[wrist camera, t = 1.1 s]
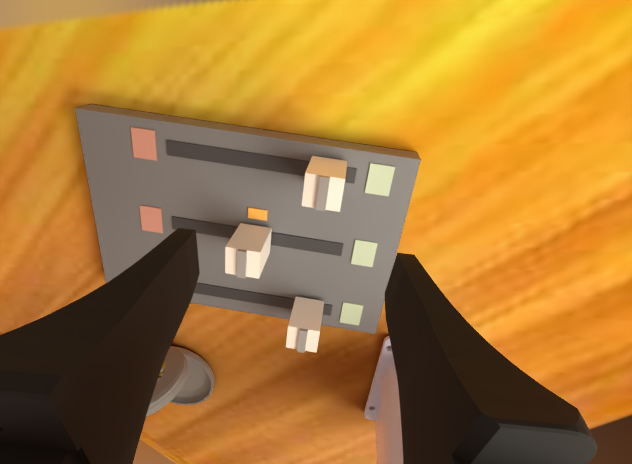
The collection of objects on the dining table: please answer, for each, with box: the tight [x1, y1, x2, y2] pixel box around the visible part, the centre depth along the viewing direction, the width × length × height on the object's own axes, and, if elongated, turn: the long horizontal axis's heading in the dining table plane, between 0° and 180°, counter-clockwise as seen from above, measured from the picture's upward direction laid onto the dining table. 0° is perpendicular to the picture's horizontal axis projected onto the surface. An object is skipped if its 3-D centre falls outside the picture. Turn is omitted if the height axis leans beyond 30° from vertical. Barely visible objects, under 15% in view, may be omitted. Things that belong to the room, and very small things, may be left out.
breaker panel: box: [75, 104, 421, 334], centre depth 25 cm, size 13×20×2 cm, turn 83°
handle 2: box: [302, 156, 347, 212], centre depth 20 cm, size 2×2×3 cm
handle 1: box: [286, 297, 324, 353], centre depth 25 cm, size 2×2×3 cm
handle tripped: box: [225, 223, 272, 279], centre depth 23 cm, size 2×2×3 cm
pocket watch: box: [146, 346, 215, 417], centre depth 29 cm, size 8×8×10 cm
